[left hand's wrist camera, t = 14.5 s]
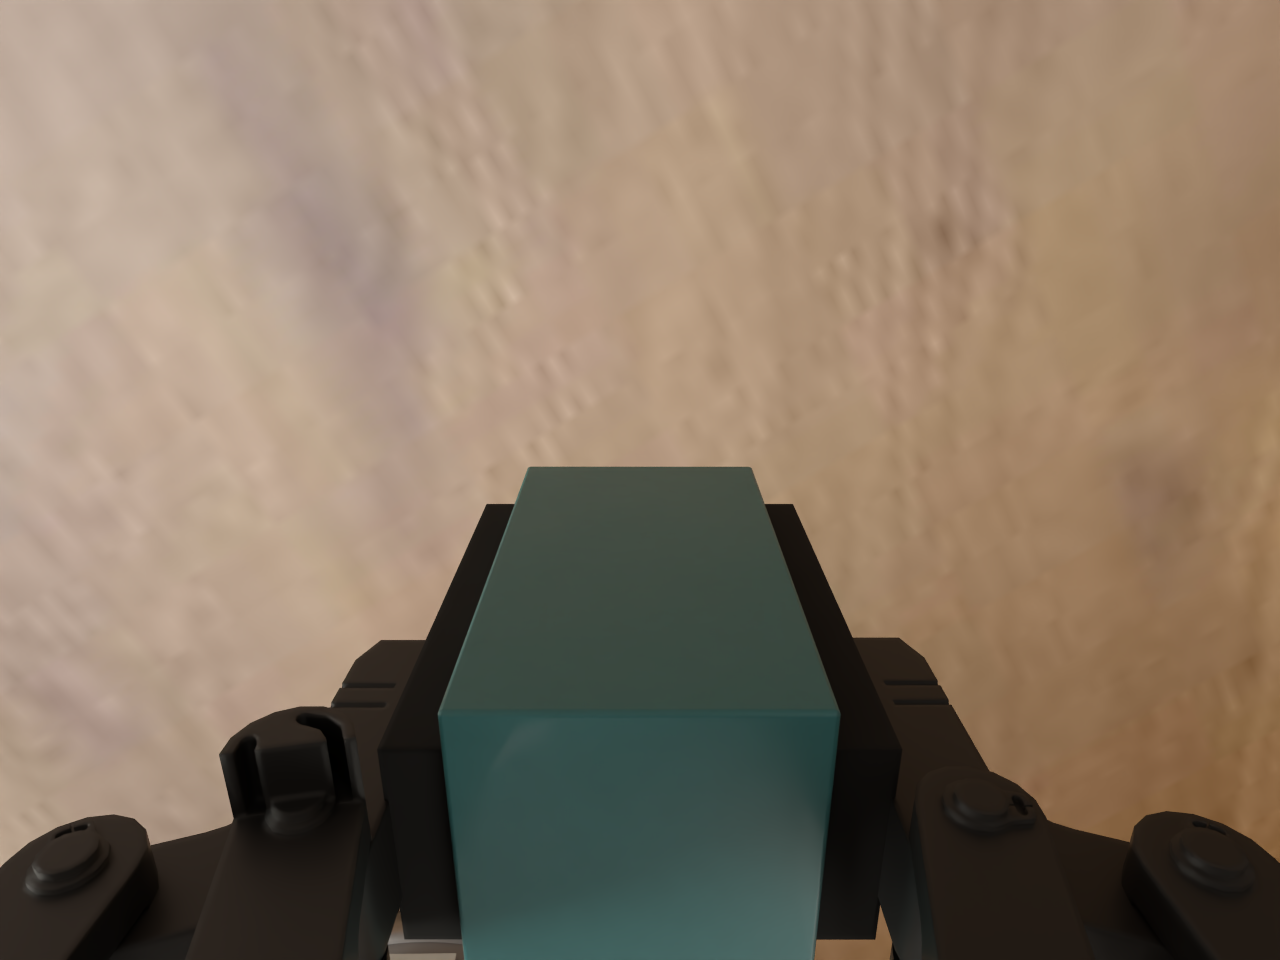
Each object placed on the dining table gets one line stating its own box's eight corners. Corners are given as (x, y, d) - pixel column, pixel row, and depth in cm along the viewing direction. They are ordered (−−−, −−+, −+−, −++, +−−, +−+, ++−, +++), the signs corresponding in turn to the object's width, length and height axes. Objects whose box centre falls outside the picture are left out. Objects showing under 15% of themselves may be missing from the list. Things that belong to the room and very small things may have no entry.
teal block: (741, 657, 16) (811, 998, 9) (537, 657, 16) (466, 998, 9) (752, 465, 15) (842, 712, 8) (527, 465, 15) (436, 712, 8)
